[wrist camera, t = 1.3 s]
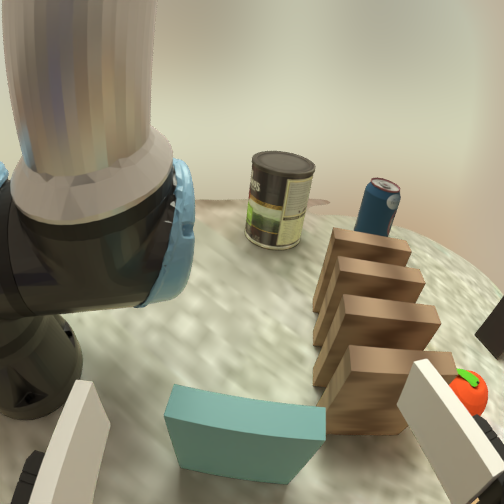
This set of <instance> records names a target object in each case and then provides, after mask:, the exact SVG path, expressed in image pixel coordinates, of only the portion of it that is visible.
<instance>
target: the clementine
mask: <svg viewBox="0 0 504 504" xmlns="http://www.w3.org/2000/svg"><path fill="white" fill-rule="evenodd" d="M456 369H457V368H456ZM457 372H458V375H457V377H456V378H455V379H454V380H453V381H452V382H451V383H450V384H449V387H450V388H451V389H452V391H453V392H454V393H455V395H456V396H457V397H458V399H459V400H460V401H461V402H462V404H463V405H464V407H465V408H466V409H467V411H468V412H469V413H470V415H471V416H474V415H476V414H478V415H479V416H481V414H482V413H483V411H484V409H485V407H486V404H487V401H488V388H487V385H486V383H485V381H484V380H483V378H482V377H481V376H480V375H478V374H477V373H475V372H473V371H468V370H463V369H457Z"/></svg>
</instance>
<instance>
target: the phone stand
mask: <svg viewBox="0 0 504 504" xmlns="http://www.w3.org/2000/svg"><path fill="white" fill-rule="evenodd" d="M475 335H476V336H477V337H478V339H479V340H480V341H481V342H482V343H483V344H484V345H485V346H486V347H487V348H488V350H489V351H490V352H491V353H492V354H493V355H494V356H495V357H496V359H497V358H498V357H499V356H500V355H501V354H502V353H503V352H504V296H503V297H502V299H501V300H500V302H499V303H498V304H497V306H496V307H495V308H494V310H493V311H492V313H491V314H490V315H489V317H488V318H487V319H486V320H485V322H484V323H483V324H482V326H481V327H480V328H479V329H478V331H477V332H476V333H475Z"/></svg>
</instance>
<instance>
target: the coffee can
mask: <svg viewBox="0 0 504 504" xmlns="http://www.w3.org/2000/svg"><path fill="white" fill-rule="evenodd" d="M314 172H315V164H314V163H313V162H311V161H310V160H308V159H306V158H304V157H302V156H299V155H296V154H293V153H288V152H281V151H265V152H260V153H257V154H255V155H254V156H253V157H252V172H251V182H250V191H249V200H248V209H247V219H246V227H245V235H246V237H247V238H248V239H249V240H250V241H251V242H252V243H254V244H256V245H258V246H260V247H263V248H267V249H272V250H285V249H289V248H292V247H294V246H296V245H297V244H298V243H299V241H300V236H301V231H302V226H303V221H304V217H305V212H306V207H307V202H308V198H309V193H310V188H311V183H312V178H313V173H314Z"/></svg>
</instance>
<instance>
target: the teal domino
mask: <svg viewBox="0 0 504 504" xmlns="http://www.w3.org/2000/svg"><path fill="white" fill-rule="evenodd" d="M164 418H165V422H166V425H167V428H168V432H169V435H170V438H171V441H172V444H173V447H174V450H175V453H176V456H177V459H178V462H179V465H180V468H185V469H189V470H193V471H198V472H203V473H208V474H213V475H218V476H224V477H230V478H236V479H243V480H250V481H258V482H267V483H277V484H288V483H289V482H290V481H291V480H292V479H293V478H294V477H295V476H296V475H297V474H298V472H299V471H300V470H301V469H302V468H303V467H304V466H305V465H306V463H307V462H308V461H309V460H310V459H311V458H312V456H313V455H314V454H315V453H316V452H317V450H318V449H319V448H320V447H321V445H322V444H323V443H324V442H325V441H326V407H315V406H304V405H294V404H286V403H277V402H270V401H262V400H255V399H249V398H243V397H236V396H231V395H225V394H220V393H214V392H209V391H204V390H199V389H195V388H190V387H185V386H181V385H177V384H174V386H173V389H172V392H171V395H170V398H169V401H168V404H167V407H166V410H165V413H164Z"/></svg>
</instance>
